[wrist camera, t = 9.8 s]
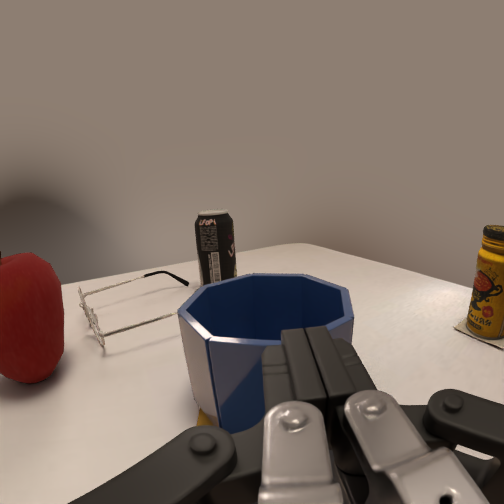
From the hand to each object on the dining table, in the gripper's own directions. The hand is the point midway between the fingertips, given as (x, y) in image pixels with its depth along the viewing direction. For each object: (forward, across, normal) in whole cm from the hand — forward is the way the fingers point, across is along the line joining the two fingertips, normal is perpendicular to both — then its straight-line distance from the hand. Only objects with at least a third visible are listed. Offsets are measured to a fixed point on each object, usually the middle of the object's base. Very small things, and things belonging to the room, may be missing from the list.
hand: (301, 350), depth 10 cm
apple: (+11, +25, +11) cm, 30 cm away
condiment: (+14, -26, +12) cm, 32 cm away
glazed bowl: (+10, +1, +11) cm, 15 cm away
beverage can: (+36, +7, +11) cm, 38 cm away
